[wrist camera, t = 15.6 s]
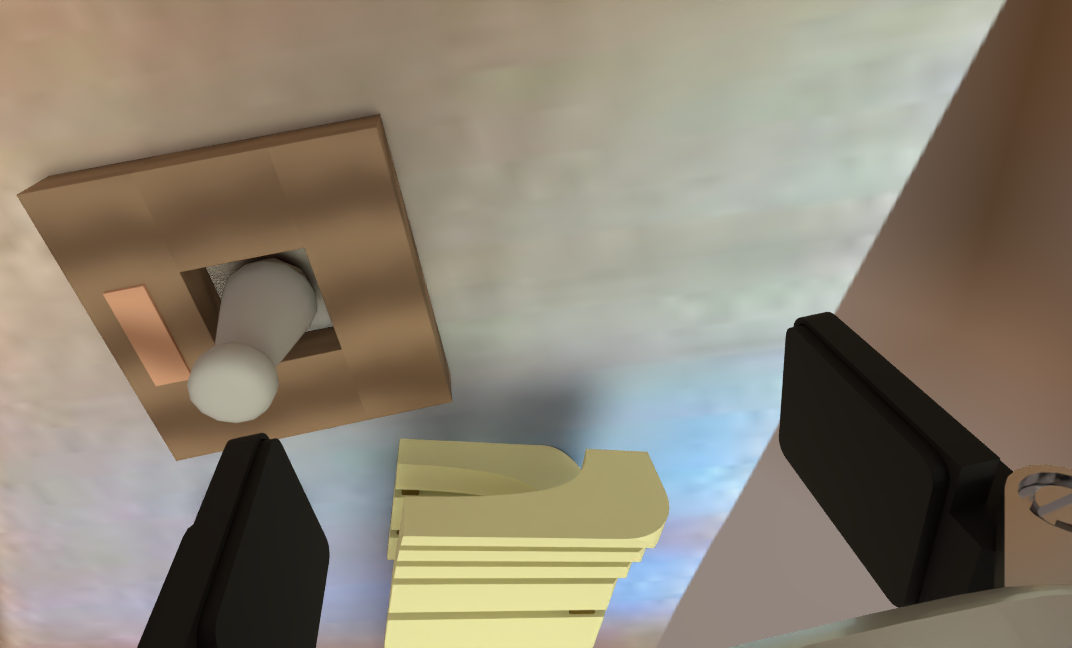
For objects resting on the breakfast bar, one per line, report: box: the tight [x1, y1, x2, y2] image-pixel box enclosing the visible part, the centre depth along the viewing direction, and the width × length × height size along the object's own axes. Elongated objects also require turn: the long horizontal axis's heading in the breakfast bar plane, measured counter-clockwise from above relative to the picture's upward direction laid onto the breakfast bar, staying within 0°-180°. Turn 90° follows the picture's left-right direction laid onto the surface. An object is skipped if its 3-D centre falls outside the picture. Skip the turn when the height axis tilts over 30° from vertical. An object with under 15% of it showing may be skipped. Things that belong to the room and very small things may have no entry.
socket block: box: [17, 114, 452, 461], centre depth 42 cm, size 20×20×4 cm
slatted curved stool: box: [384, 439, 669, 648], centre depth 49 cm, size 30×16×18 cm, turn 169°
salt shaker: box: [187, 258, 317, 423], centre depth 38 cm, size 6×6×13 cm
